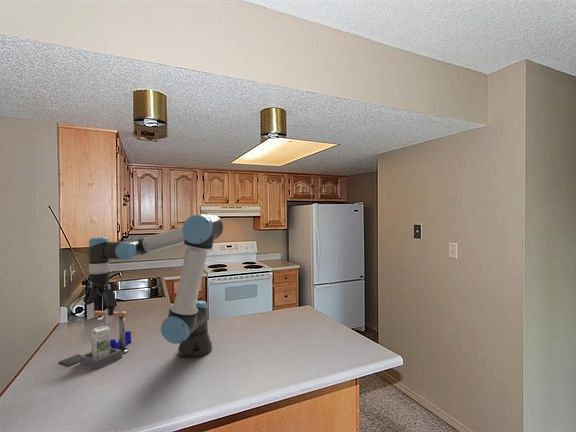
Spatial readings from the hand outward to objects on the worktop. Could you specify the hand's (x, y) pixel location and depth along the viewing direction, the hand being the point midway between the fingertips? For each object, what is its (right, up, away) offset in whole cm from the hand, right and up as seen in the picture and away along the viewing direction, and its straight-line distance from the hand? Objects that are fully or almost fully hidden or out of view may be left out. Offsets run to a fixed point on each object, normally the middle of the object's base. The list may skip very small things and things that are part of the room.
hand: (99, 320), depth 137 cm
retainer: (-1, -2, +10) cm, 11 cm away
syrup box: (+1, -18, 0) cm, 18 cm away
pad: (-12, -18, +1) cm, 22 cm away
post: (+5, -18, +9) cm, 20 cm away
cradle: (+1, -18, 0) cm, 18 cm away
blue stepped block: (+1, -18, +14) cm, 23 cm away
